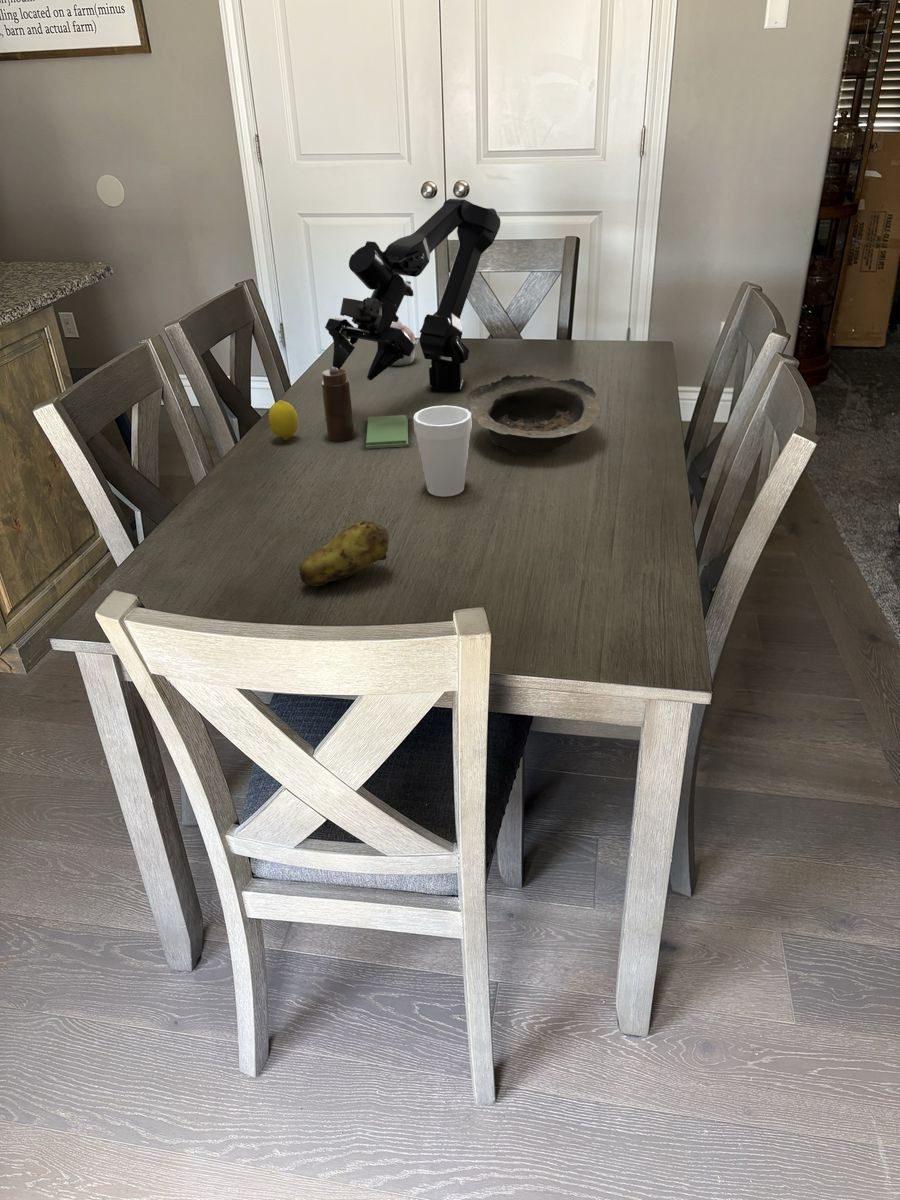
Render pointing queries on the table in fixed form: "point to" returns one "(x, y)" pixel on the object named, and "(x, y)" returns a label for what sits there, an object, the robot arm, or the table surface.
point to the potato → (346, 553)
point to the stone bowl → (534, 412)
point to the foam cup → (443, 447)
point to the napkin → (387, 432)
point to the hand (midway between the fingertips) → (351, 375)
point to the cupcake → (409, 332)
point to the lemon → (283, 419)
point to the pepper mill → (337, 405)
